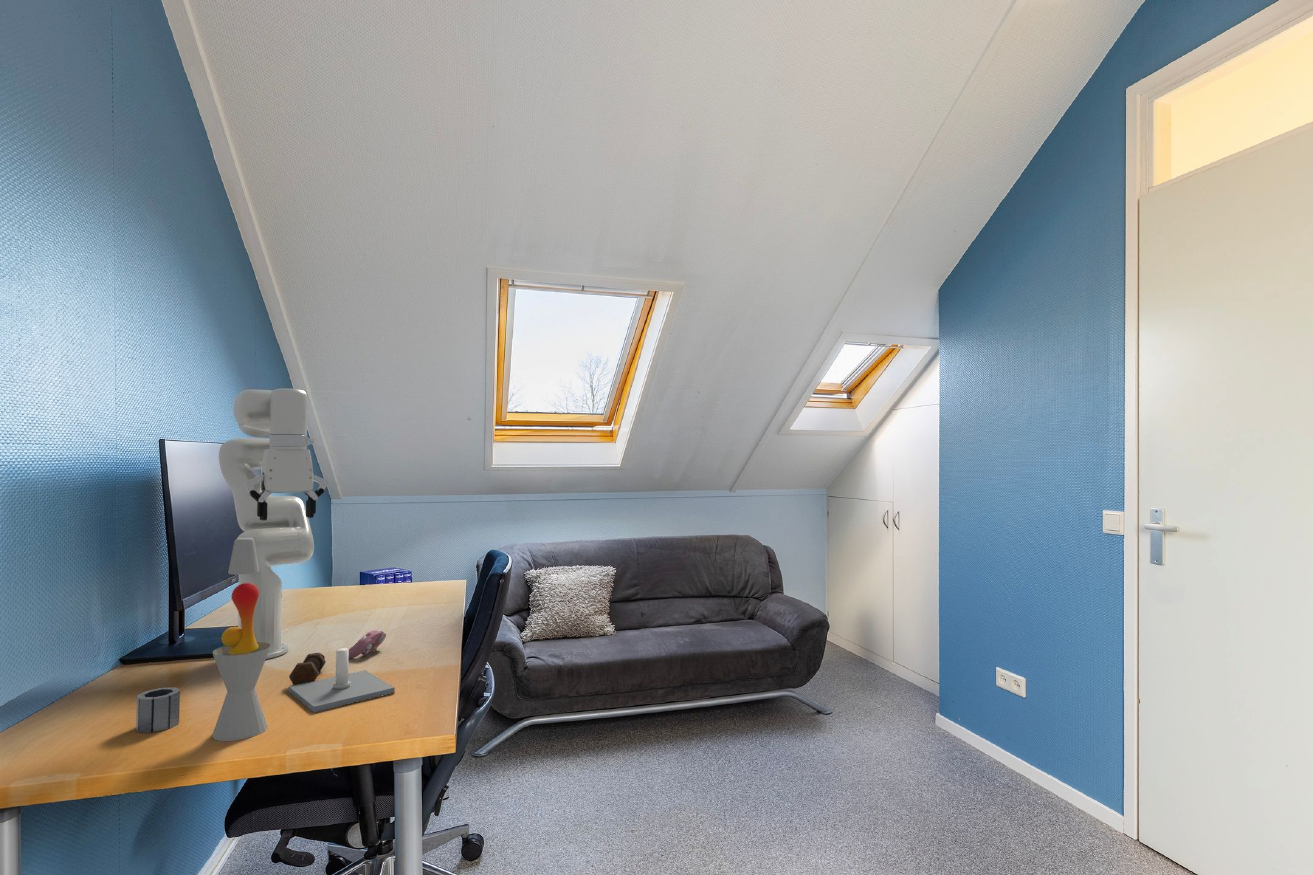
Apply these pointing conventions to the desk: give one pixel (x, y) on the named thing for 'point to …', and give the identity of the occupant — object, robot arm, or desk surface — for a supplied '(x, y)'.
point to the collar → (157, 710)
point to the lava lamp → (241, 656)
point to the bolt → (307, 669)
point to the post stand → (340, 687)
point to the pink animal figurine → (367, 644)
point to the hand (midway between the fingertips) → (287, 518)
